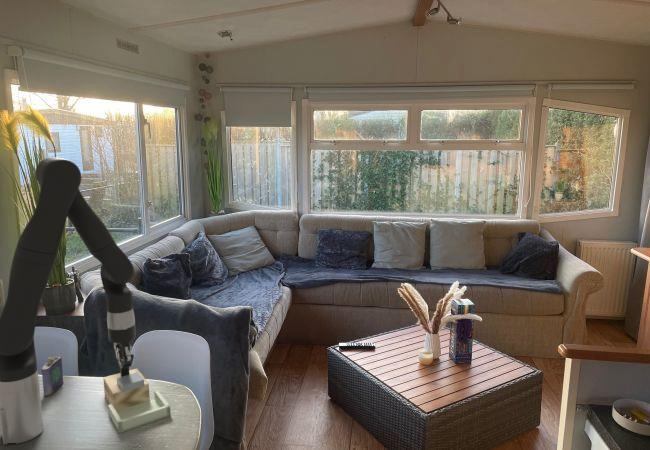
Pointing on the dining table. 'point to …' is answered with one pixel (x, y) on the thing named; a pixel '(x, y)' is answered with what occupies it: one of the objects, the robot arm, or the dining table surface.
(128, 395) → the cardboard box
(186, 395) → the dining table surface
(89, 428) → the dining table surface
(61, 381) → the flask
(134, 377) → the tile
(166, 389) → the dining table surface
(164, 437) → the dining table surface
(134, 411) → the tray
